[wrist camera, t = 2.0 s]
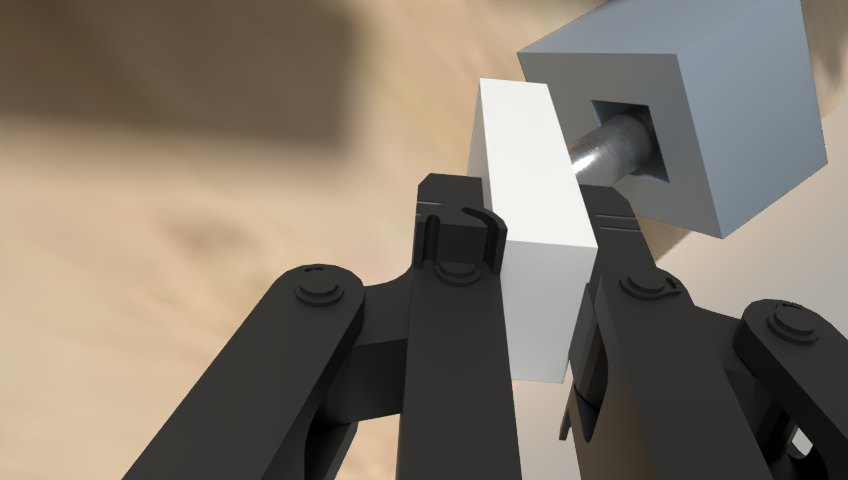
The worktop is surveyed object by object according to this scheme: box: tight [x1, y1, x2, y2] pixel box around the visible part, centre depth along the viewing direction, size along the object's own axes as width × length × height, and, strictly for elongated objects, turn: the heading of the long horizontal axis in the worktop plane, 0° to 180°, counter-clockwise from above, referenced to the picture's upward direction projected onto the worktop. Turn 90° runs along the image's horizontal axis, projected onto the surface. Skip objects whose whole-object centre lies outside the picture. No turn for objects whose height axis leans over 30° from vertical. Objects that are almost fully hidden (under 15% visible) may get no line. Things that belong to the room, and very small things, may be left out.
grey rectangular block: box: [517, 0, 828, 239], centre depth 41 cm, size 8×10×13 cm
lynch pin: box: [566, 104, 661, 187], centre depth 38 cm, size 16×6×6 cm, turn 115°
